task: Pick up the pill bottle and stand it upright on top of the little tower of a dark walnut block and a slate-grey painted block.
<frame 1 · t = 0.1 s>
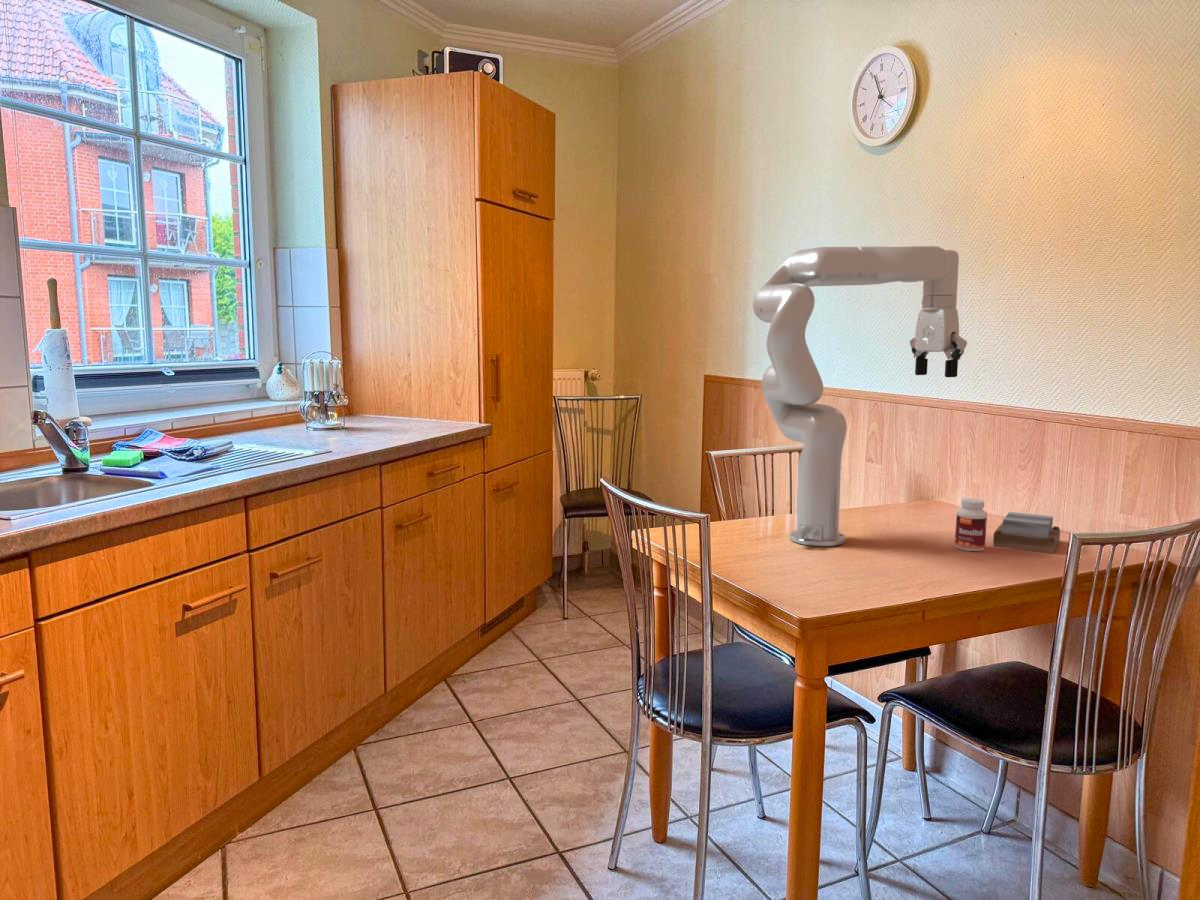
hand: (935, 376, 196), 37 cm above the table, tool pointing down, fingers open, 9 cm apart
pill bottle: (969, 549, 182), on the table
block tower: (1026, 543, 185), on the table
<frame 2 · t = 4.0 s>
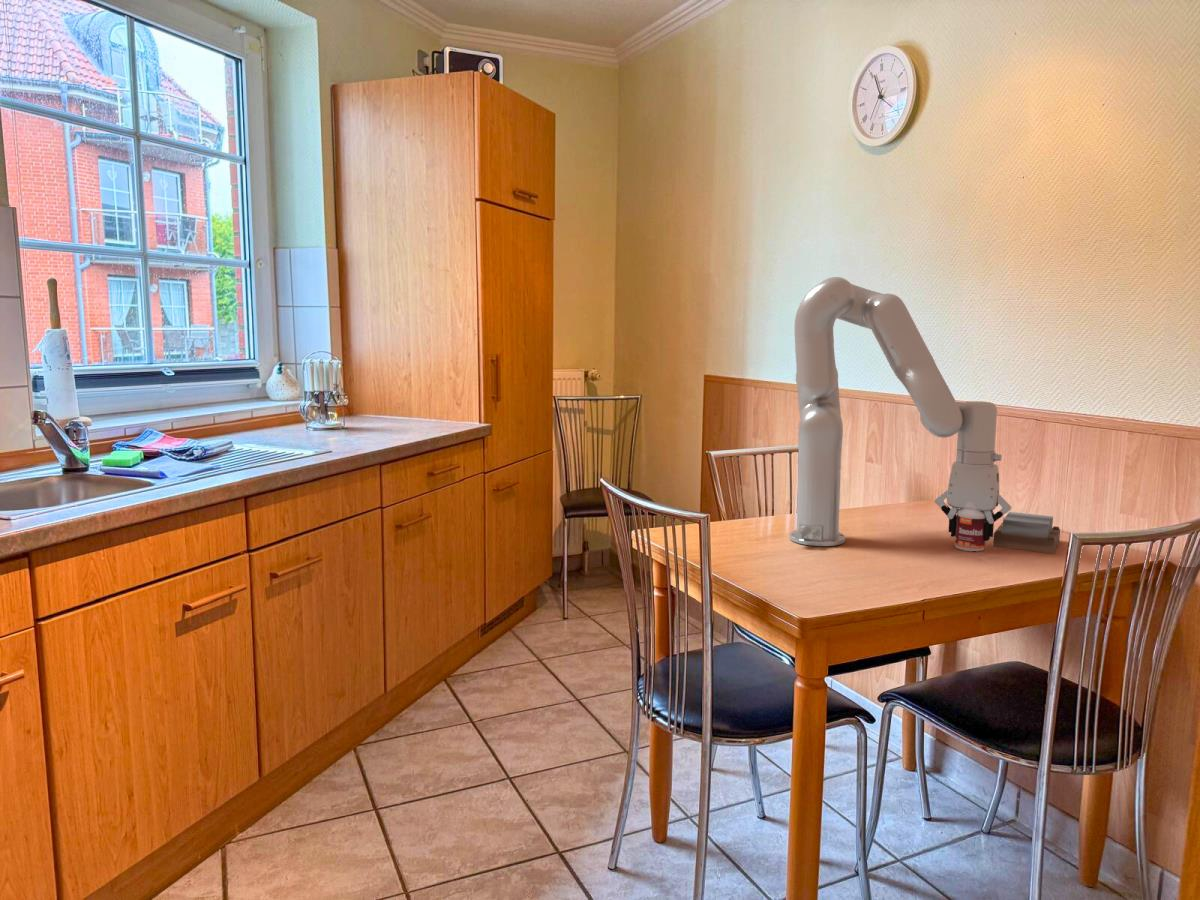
hand: (970, 536, 182), 3 cm above the table, tool pointing down, fingers closed on pill bottle, 6 cm apart
pill bottle: (969, 549, 182), on the table, touching gripper
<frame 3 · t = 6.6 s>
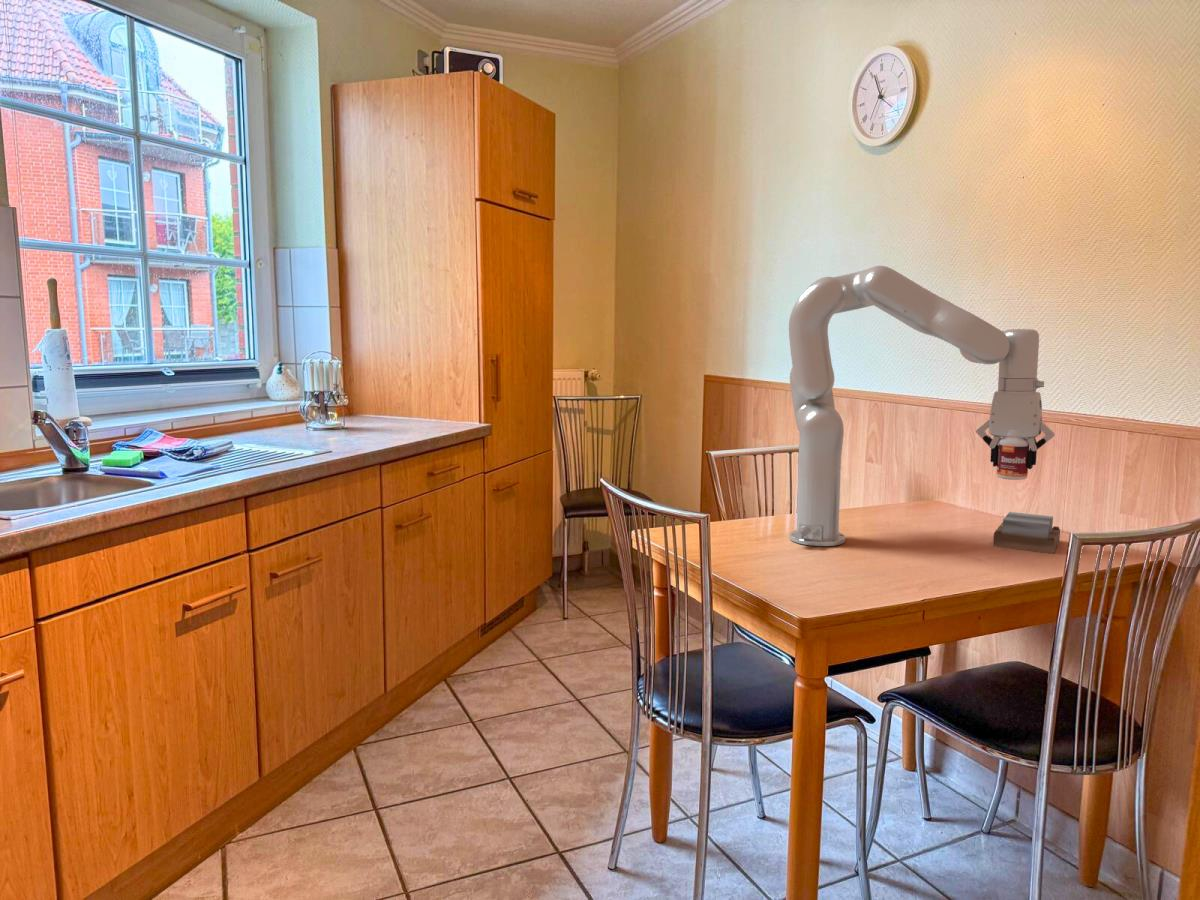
hand: (1012, 466, 181), 18 cm above the table, tool pointing down, fingers closed on pill bottle, 6 cm apart
pill bottle: (1011, 478, 182), point 15 cm above the table, touching gripper
when the fingers open (9 cm above the table, at t = 9.3 s): pill bottle stays where it is, resting on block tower.
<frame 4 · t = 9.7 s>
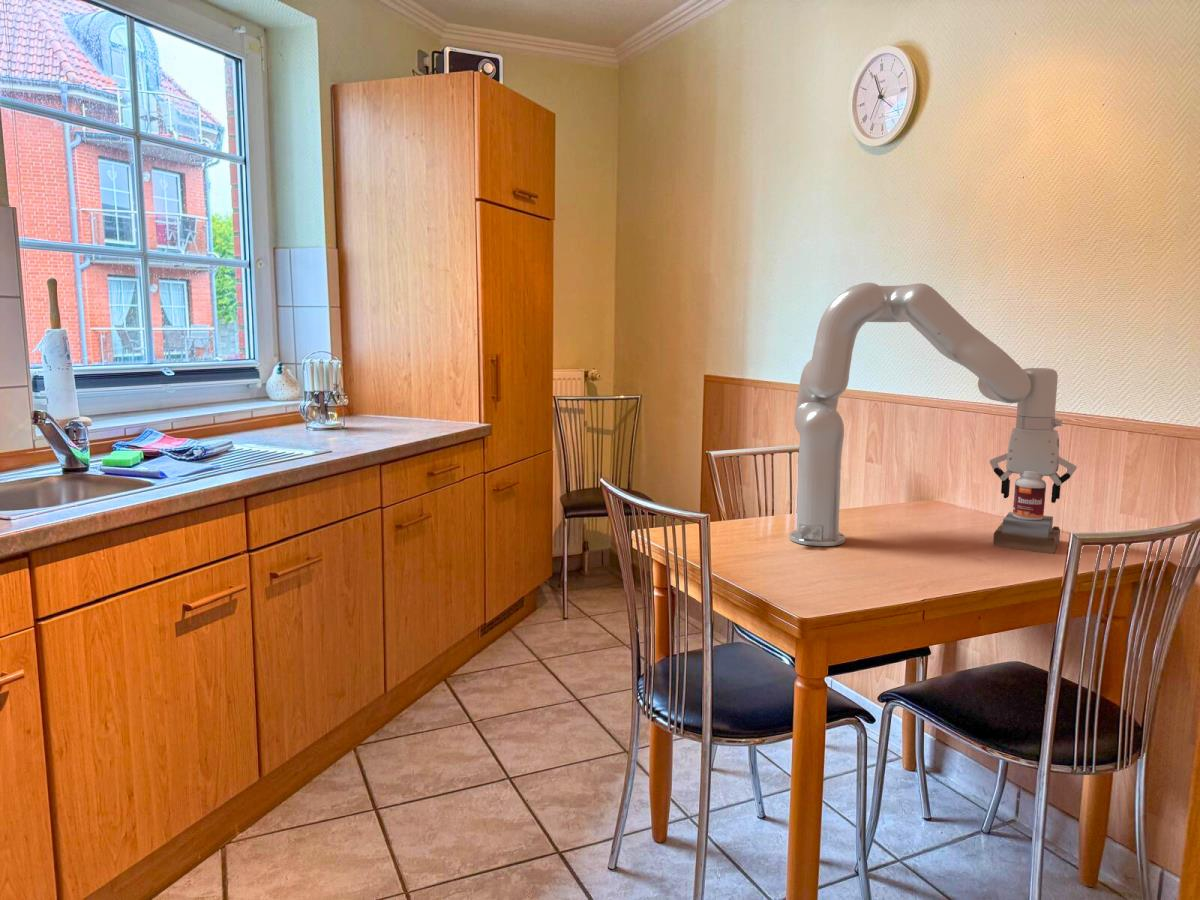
hand: (1029, 499, 184), 10 cm above the table, tool pointing down, fingers open, 9 cm apart
pill bottle: (1027, 518, 185), point 6 cm above the table, touching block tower
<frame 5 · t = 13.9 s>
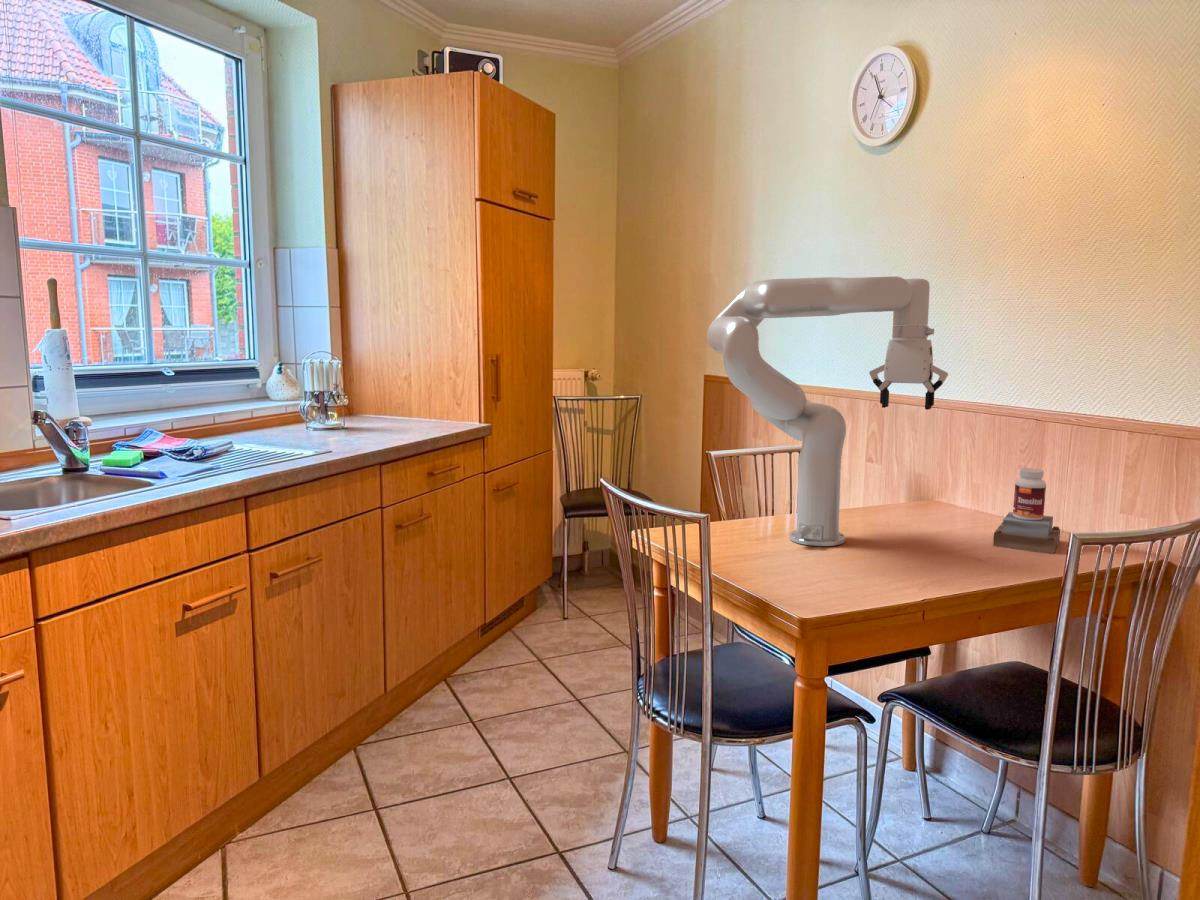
hand: (906, 408, 190), 30 cm above the table, tool pointing down, fingers open, 9 cm apart
nothing on the table moved.
at the end: pill bottle 0.1 cm off-centre on the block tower, point 5.8 cm above the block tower's base; pill bottle tilted 0°; the gripper is holding nothing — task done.
